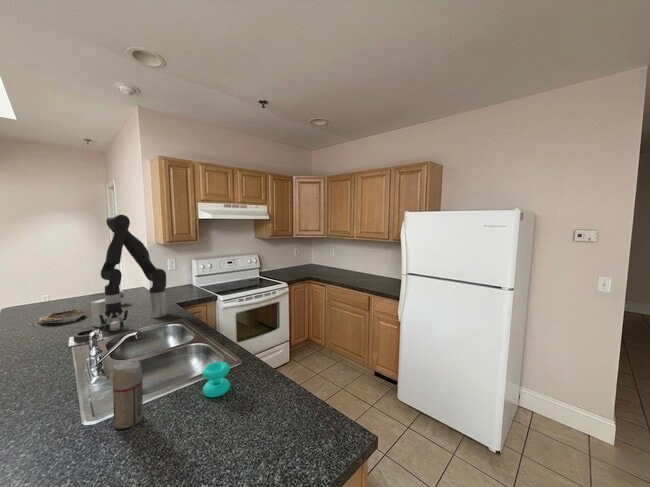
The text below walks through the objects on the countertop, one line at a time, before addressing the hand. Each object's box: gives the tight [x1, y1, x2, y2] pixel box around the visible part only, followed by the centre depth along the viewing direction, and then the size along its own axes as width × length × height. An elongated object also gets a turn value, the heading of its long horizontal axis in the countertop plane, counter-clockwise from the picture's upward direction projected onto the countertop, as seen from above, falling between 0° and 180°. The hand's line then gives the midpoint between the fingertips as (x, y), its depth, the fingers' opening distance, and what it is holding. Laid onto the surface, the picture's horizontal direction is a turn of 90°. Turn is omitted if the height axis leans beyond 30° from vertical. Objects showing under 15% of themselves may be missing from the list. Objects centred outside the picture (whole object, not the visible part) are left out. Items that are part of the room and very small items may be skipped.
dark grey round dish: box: [68, 328, 104, 348], centre depth 152 cm, size 14×14×4 cm
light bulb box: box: [120, 289, 126, 306], centre depth 213 cm, size 11×7×11 cm, turn 58°
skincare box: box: [90, 298, 113, 328], centre depth 172 cm, size 8×7×16 cm
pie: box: [32, 308, 86, 326], centre depth 180 cm, size 28×27×5 cm
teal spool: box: [201, 361, 231, 398], centre depth 107 cm, size 10×10×10 cm
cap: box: [108, 320, 122, 332], centre depth 164 cm, size 5×5×4 cm
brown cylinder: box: [112, 359, 144, 430], centre depth 90 cm, size 8×8×20 cm
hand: (115, 328), depth 164 cm, fingers closed on cap, 5 cm apart
